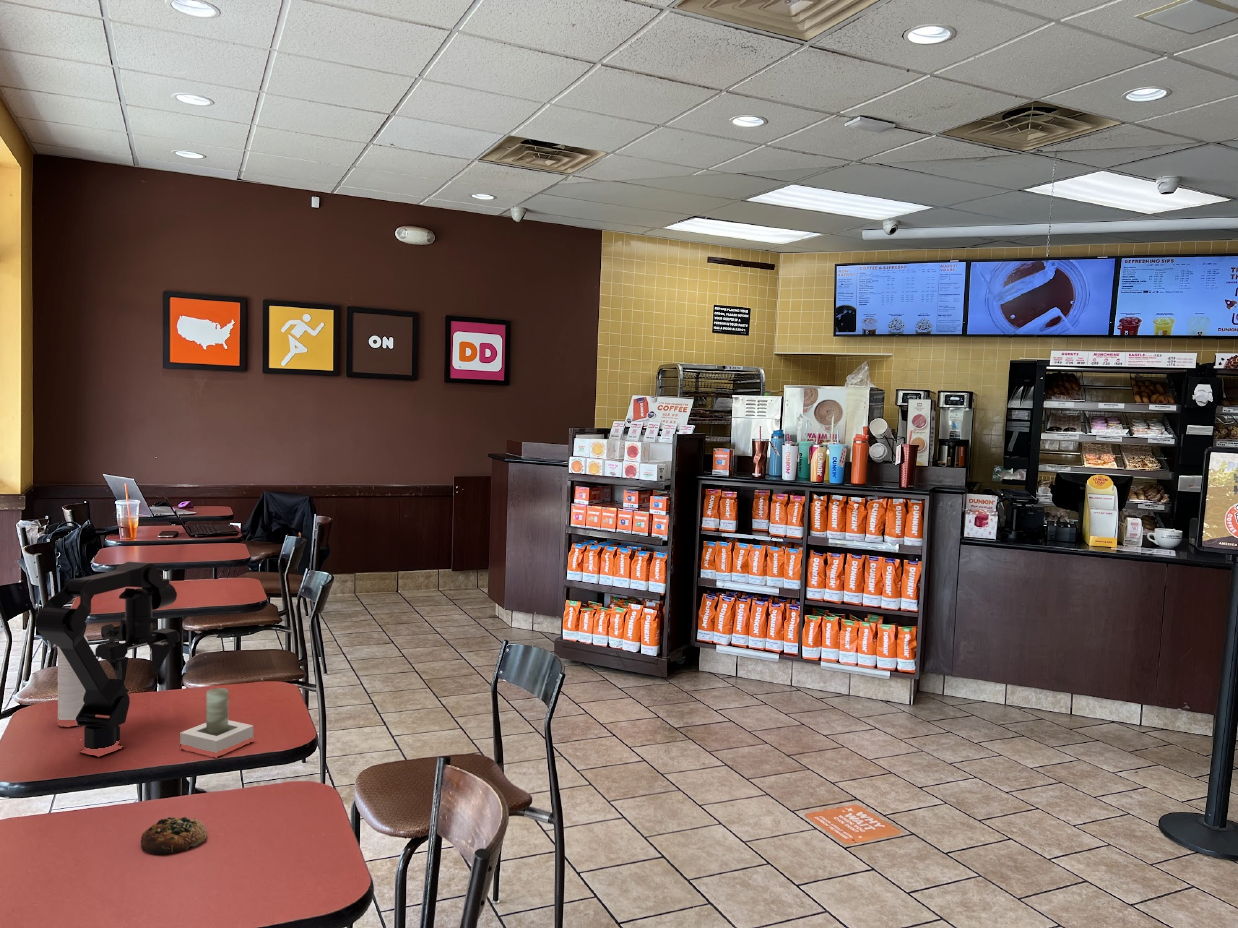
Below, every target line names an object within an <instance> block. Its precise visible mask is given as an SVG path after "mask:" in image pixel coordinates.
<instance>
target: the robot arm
mask: <svg viewBox="0 0 1238 928" xmlns="http://www.w3.org/2000/svg"><path fill="white" fill-rule="evenodd" d="M123 588H125V589H124V591H122V592H121V593H120V594H119V595H118V599H119V600H124V604H125V605H124V606H125V607H124V610H125V611H124V618H121V620H120V625H117V626H116V625H115V626H114V624H112V623H110V624H106V625H102V626H101V629H100V636H101V639H102V640H108V642H104V643H98V645H97V646H96V647H95V650H94V651H95V652H94V651H93V650H92V647H91V646H90V644H88V643H89V641H88V642H87V640H86V639H85V637H84V635H85V634H86V630H87V626H88V625H87V622H86V621H87V619H88V618H89V617H90V614H91V613H92V599H93V597H94V596H96V595H100V594H103V593H104V594H105V593H108V592H112V591H116V590H119V589H123ZM177 597H178V592H177V590H176V588H175V587H174V586H173V584H171V583H170V578H162V576H161V574H160V572H159V570H158V569H157V567H156V565H155V564H154V563H152V562H140V561H126V562H124V563H122V564H120V565H117V567H116V569H114V570H112V571H107V572H102V573H98V574H92V575H87V576H84V577H79V578H72V579H71V578H70V579H69V580H68V581H67V582H66V583H65V584H64V586H63V588H61V590H60V591H58V592H56V593H55V594H54V595H53V596H52V597H50V598H49V599H48V600H46V601H45V604H43V607H42V608H41V609H40V611H39V613H38V614H37V616H36V618H35V623H34V625H35V629H36V631H37V632H38V633H39V634H40V636H42V637H43V638H44V639H45V640H46V641H48V642H50V643H51V644H53V645H56V647H57V646H58V647H59V648H60V649H61V651H62V652H63V654H64V656H65V657H66V659H67V661H68V662H69V664H70V666H71V667H72V669H73V670H74V672H75V674H76V675H77V677H78V679H79V680H80V682H81V684H82V685H83V687H84V689H85V694H84V697H83V701H84V705H83V707H82V708H81V710H80V712H79V714H78V715H77V717H76V722H77V725H78V726H79V727H81V726H82V727H84V728H83V729H84V730H83V732H84V733H83V735H84V737H83V738H84V741H83V745H84V747H86V748H90V749H98V748H105V747H109V746H112V745H114V744H115V743H116V741H119V740H120V741H121V725H123V724H125V723H126V721H127V715H128V712H129V708H130V701H131V700H130V696H129V692H130V690H129V689H127V687H126V685H125V680H126V675H127V670H128V663H129V656H127V654H128V652H129V651H130V650H133V649H136V648H141V647H145V646H149V647H150V649H151V653H152V654H151V655H152V656H151V658H152V666H151V667H152V673H153V674H155V675H157V674H159V672H160V670H161V668H162V666H163V665H164V662H165V660H166V659H167V656H168V655H169V653H170V652H171V650H172V648H174V647H175V646H176V644H177V643H179V642H180V633H179V632H178V630H176V629H170V628H165V627H162V628H158V629H155V630H153V624H154V623H157V617H153V611H155V610H159V609H161V608H164V607H167V606H171V605H172V604H174V603H175V601H176V600H177ZM74 598H79V605H78V606H77V607H76V608H71V607H70V608H69V607H64V606H66V605H67V604H68V603H70V602H71V601H72V600H73V599H74ZM116 640H118V641H119V642H117V641H116ZM175 643H176V644H175ZM98 658H100V659H101V660H104V661H107V662H108V663H109V665H110V666H111V668H112V670H113V672H114V674H115V677H116V678H109V677H108V675H107V673H106V671H105V670H104V668H103V666H102V665H101V663H100V661H99V659H98ZM100 716H101V717H100ZM104 716H105V717H104ZM84 747H83V748H84Z"/></svg>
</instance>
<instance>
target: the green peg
mask: <svg viewBox="0 0 1238 928" xmlns="http://www.w3.org/2000/svg"><path fill="white" fill-rule="evenodd" d="M205 716H206V717H205V718H206V721H205V723H206V734H210V735H215V736H218V735H220V734H223V733H225V732H228V720H229V689H228V688H225V687H217V688H212V689H208V690H207V691H206V715H205Z"/></svg>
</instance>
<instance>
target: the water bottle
mask: <svg viewBox="0 0 1238 928" xmlns="http://www.w3.org/2000/svg"><path fill="white" fill-rule="evenodd" d="M84 637H85V639H86V640H87V642H88V644H89V640H88V638H87V636H86V635H85V634H84ZM89 645H90V644H89ZM56 647H57V707H58V708H57V720H58V719H59V720H76V717H77V715H78V714H79V712H80V710H81V708H82V707H83V705H84V701H83V697H84V694H85V689H84V687H83V685H82V684H81V682H80V680H79V679H78V677H77V675H76V674H75V672H74V670H73V669H72V667H71V666H70V664H69V662H68V661H67V659H66V657H65V656H64V654H63V652H62V651H61V649H60V648H59V647H58V646H57V645H56Z"/></svg>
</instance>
